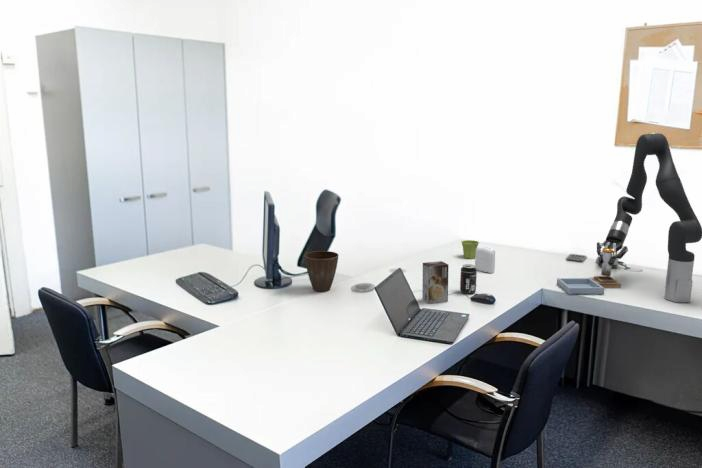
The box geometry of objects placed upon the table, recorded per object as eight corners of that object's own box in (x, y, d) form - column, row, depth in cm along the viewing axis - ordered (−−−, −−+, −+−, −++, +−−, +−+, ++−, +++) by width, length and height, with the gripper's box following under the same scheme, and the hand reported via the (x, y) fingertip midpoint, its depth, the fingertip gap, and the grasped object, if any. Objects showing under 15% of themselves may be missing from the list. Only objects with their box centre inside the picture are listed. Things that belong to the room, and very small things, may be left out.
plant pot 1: (332, 283, 265) (331, 249, 262) (343, 292, 251) (343, 257, 248) (301, 286, 260) (300, 252, 256) (311, 296, 246) (310, 260, 243)
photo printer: (473, 269, 286) (474, 245, 284) (478, 268, 289) (479, 244, 286) (490, 274, 278) (491, 249, 276) (495, 272, 281) (496, 248, 278)
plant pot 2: (457, 256, 313) (458, 240, 311) (472, 254, 316) (473, 239, 314) (465, 260, 304) (466, 244, 303) (481, 259, 307) (482, 243, 305)
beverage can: (457, 290, 252) (457, 264, 250) (470, 289, 255) (471, 263, 252) (465, 295, 246) (466, 268, 244) (478, 293, 248) (480, 266, 246)
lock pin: (613, 276, 257) (615, 250, 254) (603, 276, 257) (605, 250, 254) (608, 273, 261) (610, 247, 259) (599, 273, 261) (600, 247, 259)
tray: (603, 294, 246) (604, 288, 245) (569, 294, 246) (569, 288, 245) (589, 284, 261) (590, 278, 260) (556, 284, 261) (557, 278, 260)
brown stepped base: (620, 287, 255) (621, 281, 255) (598, 288, 255) (598, 281, 255) (610, 281, 265) (611, 275, 264) (589, 281, 265) (589, 275, 264)
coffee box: (441, 297, 244) (442, 260, 241) (448, 301, 238) (449, 264, 235) (421, 299, 241) (422, 262, 238) (427, 304, 235) (428, 266, 232)
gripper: (600, 226, 265) (587, 256, 259) (632, 230, 255) (619, 261, 249) (604, 236, 270) (591, 265, 264) (635, 240, 260) (623, 271, 254)
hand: (605, 263), depth 256 cm, fingers closed on lock pin, 4 cm apart
